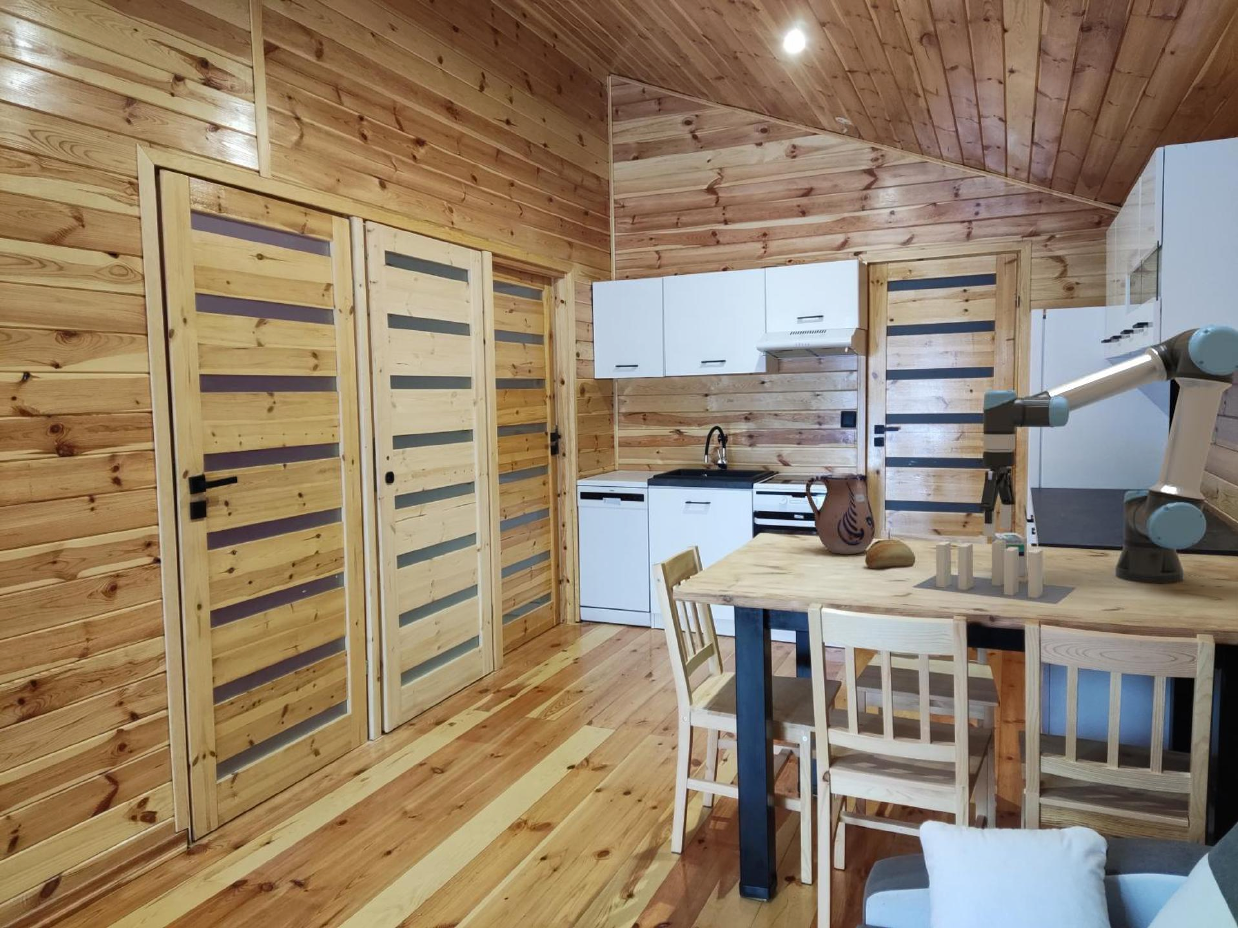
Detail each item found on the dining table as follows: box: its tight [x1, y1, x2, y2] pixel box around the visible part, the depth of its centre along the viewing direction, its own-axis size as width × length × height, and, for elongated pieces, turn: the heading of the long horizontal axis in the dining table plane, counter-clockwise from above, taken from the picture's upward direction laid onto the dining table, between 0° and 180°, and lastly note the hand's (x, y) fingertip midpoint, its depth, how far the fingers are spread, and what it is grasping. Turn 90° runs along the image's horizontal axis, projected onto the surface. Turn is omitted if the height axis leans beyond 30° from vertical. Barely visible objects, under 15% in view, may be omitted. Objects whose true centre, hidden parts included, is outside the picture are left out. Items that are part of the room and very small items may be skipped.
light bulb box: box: [992, 532, 1028, 577], centre depth 233 cm, size 11×7×11 cm, turn 168°
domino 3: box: [991, 540, 1006, 586], centre depth 220 cm, size 2×5×11 cm, turn 140°
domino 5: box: [1027, 548, 1044, 598], centre depth 206 cm, size 2×5×11 cm, turn 140°
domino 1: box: [935, 541, 952, 587], centre depth 220 cm, size 2×5×11 cm, turn 140°
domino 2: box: [957, 542, 974, 590], centre depth 216 cm, size 2×5×11 cm, turn 139°
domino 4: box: [1004, 547, 1020, 595], centre depth 209 cm, size 2×5×11 cm, turn 140°
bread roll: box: [864, 539, 916, 569], centre depth 248 cm, size 10×15×8 cm, turn 100°
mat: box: [912, 573, 1077, 605], centre depth 216 cm, size 34×20×1 cm, turn 50°
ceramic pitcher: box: [805, 472, 876, 555], centre depth 272 cm, size 18×21×25 cm
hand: (997, 533), depth 219 cm, fingers open, 13 cm apart
